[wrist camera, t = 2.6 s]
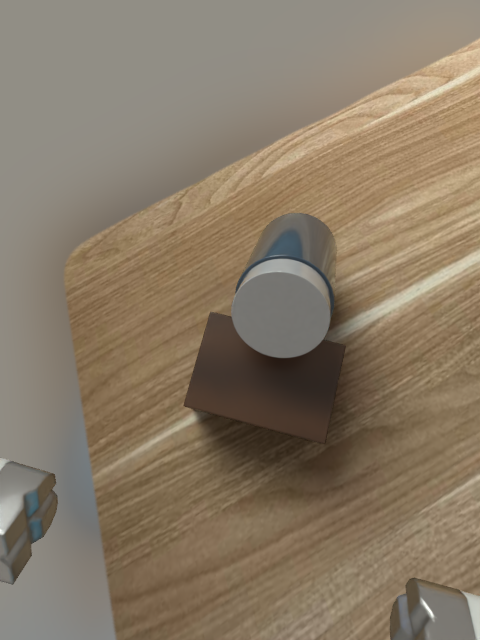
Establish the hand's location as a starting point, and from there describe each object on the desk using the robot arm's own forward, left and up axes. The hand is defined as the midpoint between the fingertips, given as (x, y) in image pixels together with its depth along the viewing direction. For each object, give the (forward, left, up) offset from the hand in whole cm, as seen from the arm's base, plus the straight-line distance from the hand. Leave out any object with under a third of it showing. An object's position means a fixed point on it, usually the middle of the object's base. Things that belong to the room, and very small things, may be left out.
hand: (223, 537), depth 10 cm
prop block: (-2, +6, -25) cm, 26 cm away
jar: (-5, +12, -25) cm, 28 cm away
